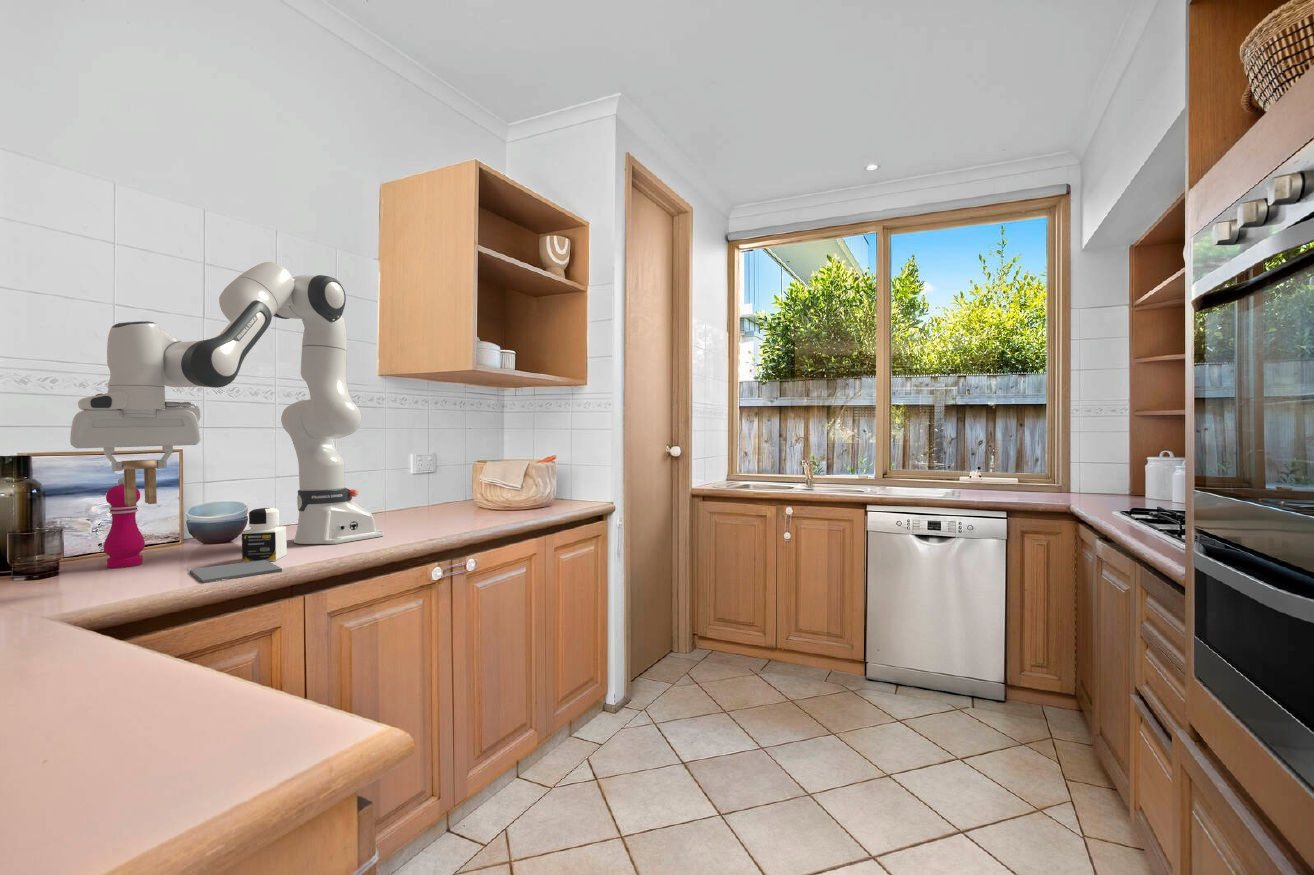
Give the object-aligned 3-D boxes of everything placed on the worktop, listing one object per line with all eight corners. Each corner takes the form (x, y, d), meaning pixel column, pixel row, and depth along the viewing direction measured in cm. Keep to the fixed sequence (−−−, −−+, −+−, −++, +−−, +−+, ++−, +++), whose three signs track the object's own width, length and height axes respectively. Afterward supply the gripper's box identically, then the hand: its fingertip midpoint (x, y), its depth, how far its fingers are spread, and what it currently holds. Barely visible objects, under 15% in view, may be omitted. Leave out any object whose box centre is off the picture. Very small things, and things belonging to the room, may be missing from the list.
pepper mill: (153, 562, 147) (151, 476, 147) (124, 568, 140) (122, 479, 140) (125, 561, 148) (123, 476, 148) (95, 568, 141) (92, 479, 140)
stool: (155, 501, 131) (154, 459, 131) (161, 503, 127) (159, 460, 127) (120, 504, 127) (119, 460, 127) (125, 506, 123) (123, 461, 123)
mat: (264, 562, 145) (264, 559, 145) (282, 571, 135) (282, 568, 135) (190, 572, 135) (190, 569, 135) (203, 583, 126) (202, 580, 125)
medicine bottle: (241, 563, 145) (240, 511, 144) (254, 557, 152) (253, 507, 151) (275, 561, 146) (274, 509, 146) (287, 555, 153) (286, 506, 153)
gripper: (196, 402, 137) (198, 466, 137) (67, 400, 121) (70, 472, 122) (203, 401, 132) (205, 467, 133) (71, 399, 117) (74, 473, 118)
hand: (139, 469), depth 127 cm, fingers closed on stool, 6 cm apart
